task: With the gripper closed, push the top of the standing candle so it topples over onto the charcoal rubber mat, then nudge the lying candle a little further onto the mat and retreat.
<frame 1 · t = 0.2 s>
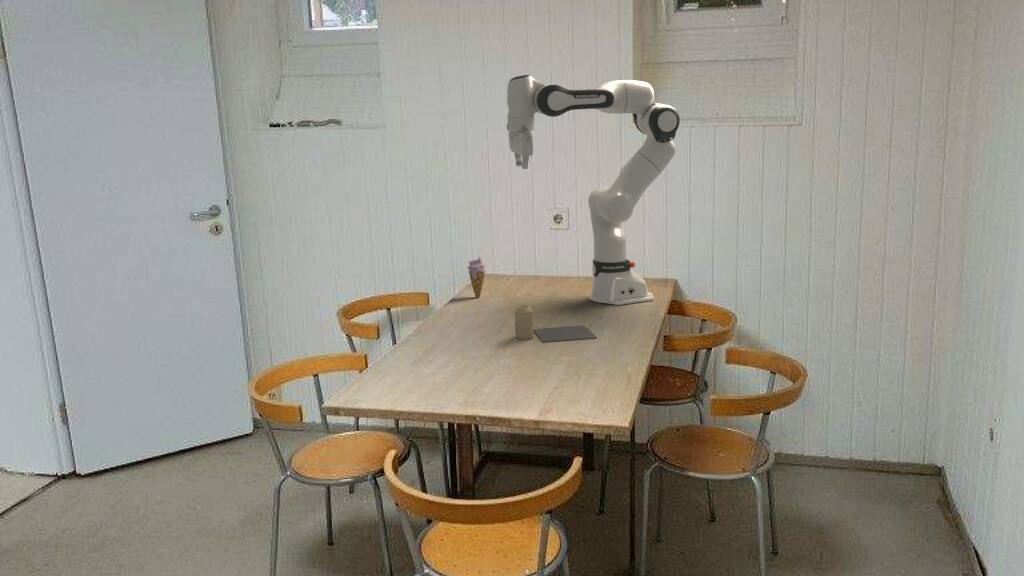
hand: (521, 167, 304), 48 cm above the table, fingers open, 8 cm apart
candle: (524, 337, 278), on the table
mat: (564, 334, 280), on the table
ice cream cone: (477, 298, 327), on the table
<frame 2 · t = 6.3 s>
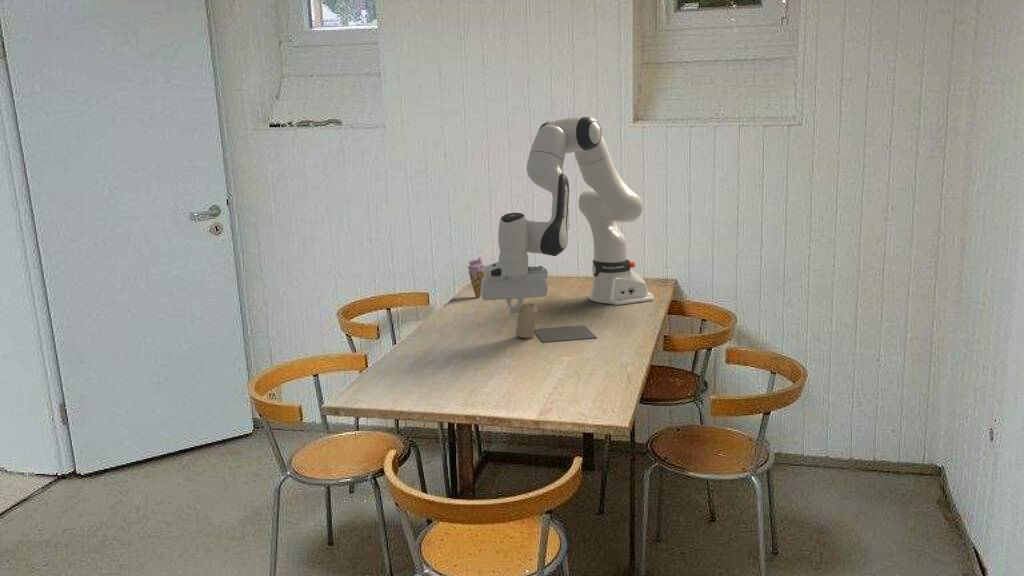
hand: (514, 312, 275), 8 cm above the table, fingers closed
candle: (524, 336, 278), on the table, touching gripper
everything else where it was.
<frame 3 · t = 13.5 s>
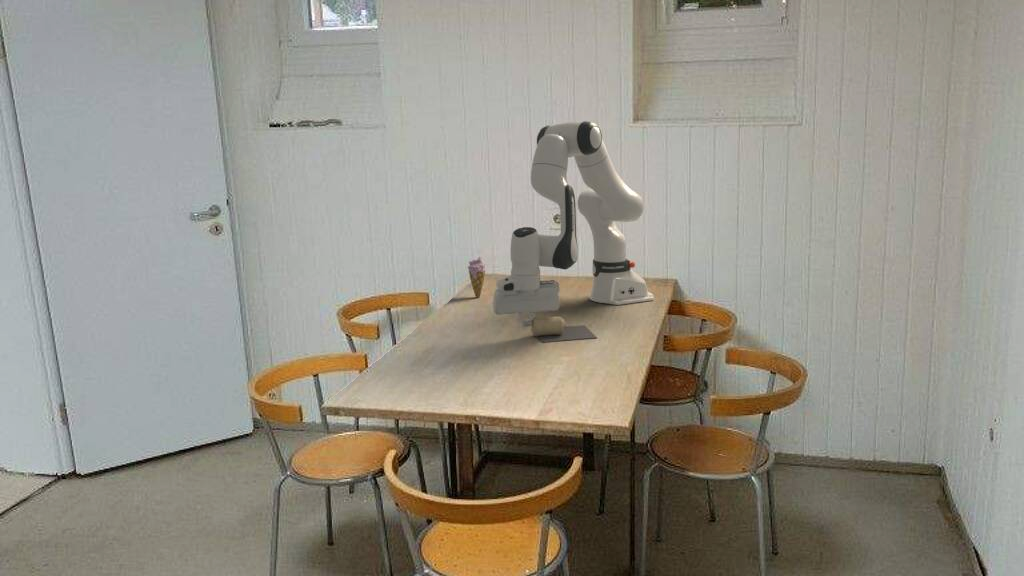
hand: (526, 326, 277), 3 cm above the table, fingers closed
candle: (532, 327, 277), point 3 cm above the table, touching gripper, mat
everything else where it was.
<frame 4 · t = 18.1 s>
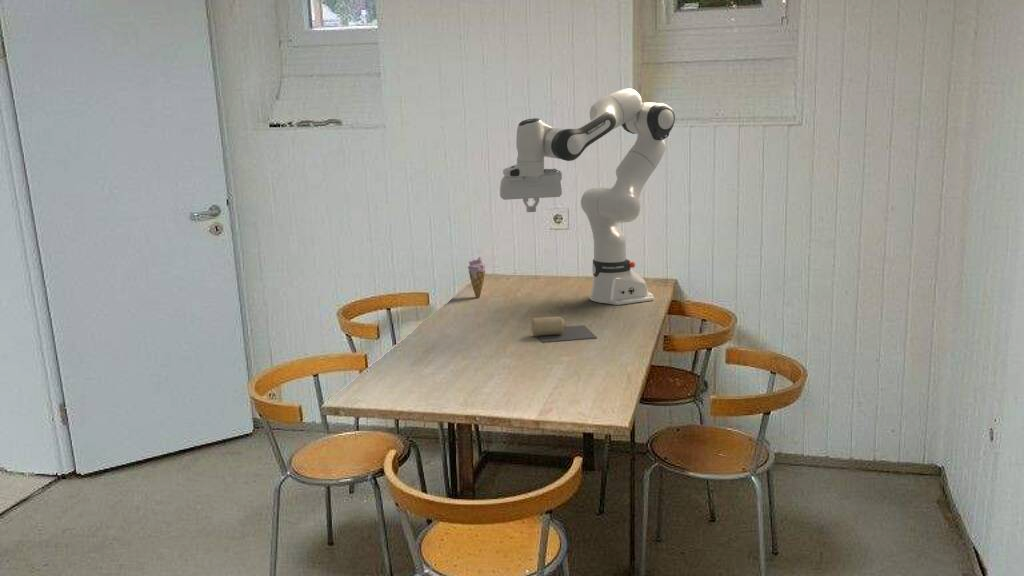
hand: (531, 211, 298), 34 cm above the table, fingers closed
candle: (532, 327, 277), point 3 cm above the table, touching mat
everything else where it was.
at the end: candle tilted 90°; candle inside the target area (9.0 cm from its centre), point 3.1 cm above the table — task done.
